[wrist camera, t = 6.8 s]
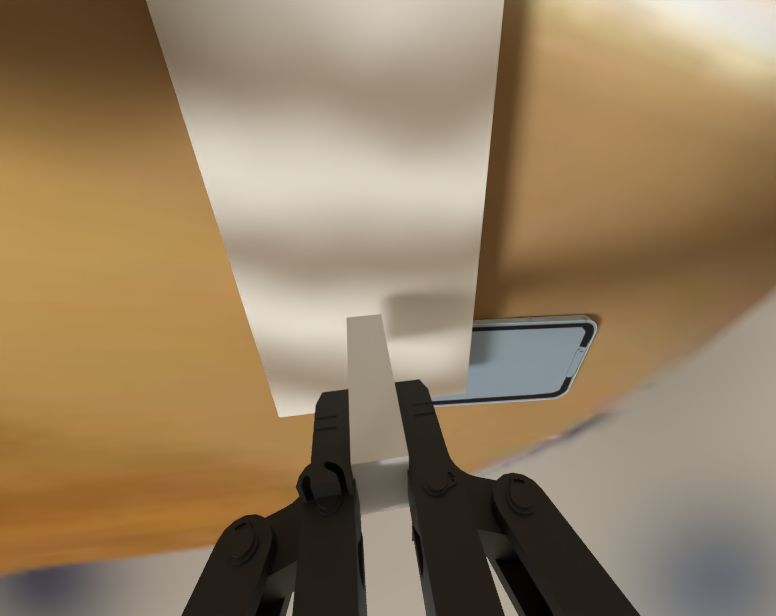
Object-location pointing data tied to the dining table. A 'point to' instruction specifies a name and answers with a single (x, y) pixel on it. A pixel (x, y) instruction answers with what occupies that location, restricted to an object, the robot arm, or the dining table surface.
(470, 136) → the silvery beige flat slab
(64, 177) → the dining table surface
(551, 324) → the smartphone
